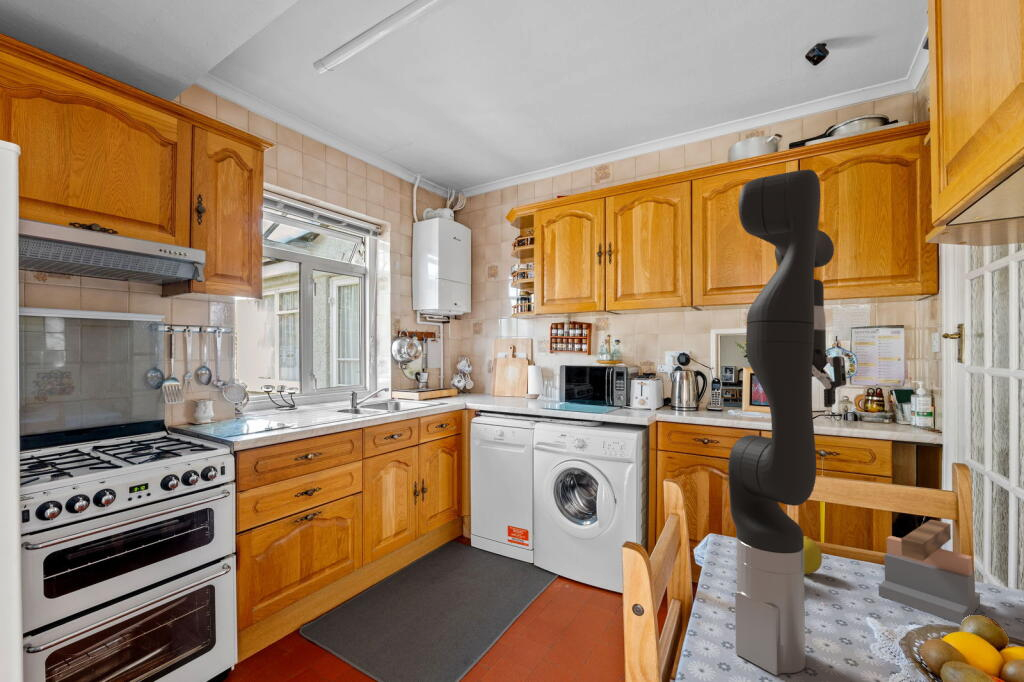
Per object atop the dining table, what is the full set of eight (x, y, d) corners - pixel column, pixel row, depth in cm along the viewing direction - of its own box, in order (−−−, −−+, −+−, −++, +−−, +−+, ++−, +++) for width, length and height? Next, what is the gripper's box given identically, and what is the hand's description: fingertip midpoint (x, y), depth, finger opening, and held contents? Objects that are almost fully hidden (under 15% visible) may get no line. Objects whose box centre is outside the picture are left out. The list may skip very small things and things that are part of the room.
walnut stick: (931, 534, 95) (930, 519, 95) (950, 539, 93) (950, 523, 93) (901, 555, 85) (901, 538, 85) (923, 561, 82) (922, 544, 82)
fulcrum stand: (963, 625, 80) (961, 566, 80) (878, 595, 90) (877, 543, 90) (980, 604, 87) (978, 550, 87) (899, 579, 97) (898, 530, 97)
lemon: (828, 580, 96) (827, 541, 96) (801, 580, 96) (800, 541, 96) (811, 568, 101) (811, 531, 101) (785, 568, 101) (785, 531, 102)
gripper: (850, 328, 95) (852, 407, 94) (778, 331, 106) (778, 401, 106) (835, 326, 90) (836, 409, 90) (761, 329, 102) (762, 403, 102)
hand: (805, 405), depth 98 cm, fingers open, 8 cm apart
